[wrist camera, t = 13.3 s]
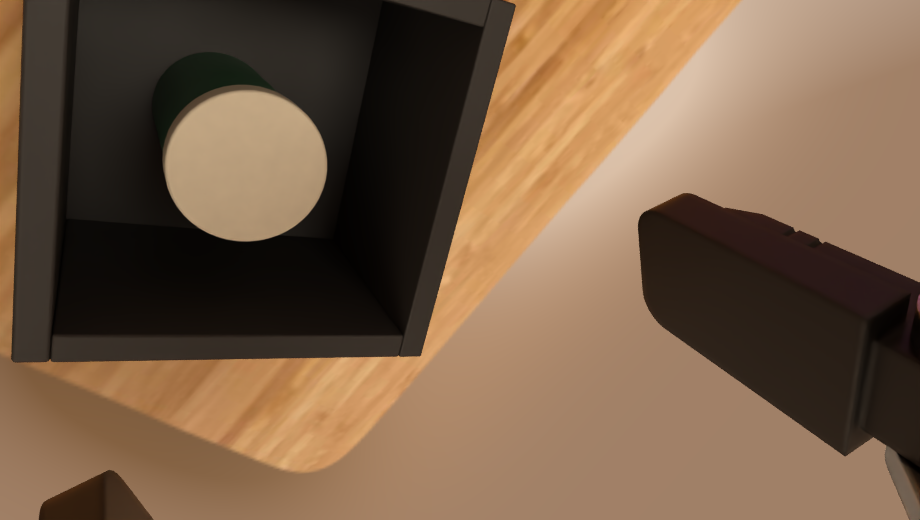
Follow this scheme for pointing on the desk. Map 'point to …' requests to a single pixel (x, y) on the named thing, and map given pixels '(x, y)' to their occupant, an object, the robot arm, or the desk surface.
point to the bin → (244, 262)
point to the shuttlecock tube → (236, 149)
